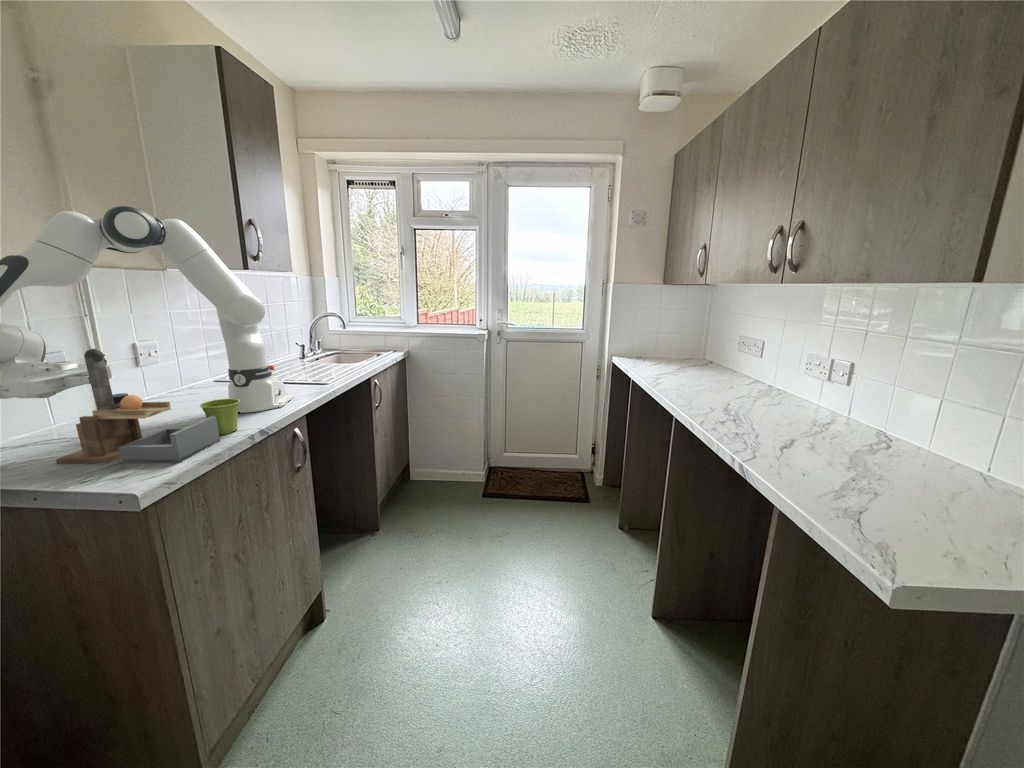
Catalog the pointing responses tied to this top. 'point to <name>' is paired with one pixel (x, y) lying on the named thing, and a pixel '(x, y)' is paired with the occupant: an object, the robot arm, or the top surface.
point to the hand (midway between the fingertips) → (94, 379)
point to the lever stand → (102, 440)
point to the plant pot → (223, 413)
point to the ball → (131, 402)
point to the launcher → (105, 396)
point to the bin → (171, 443)
